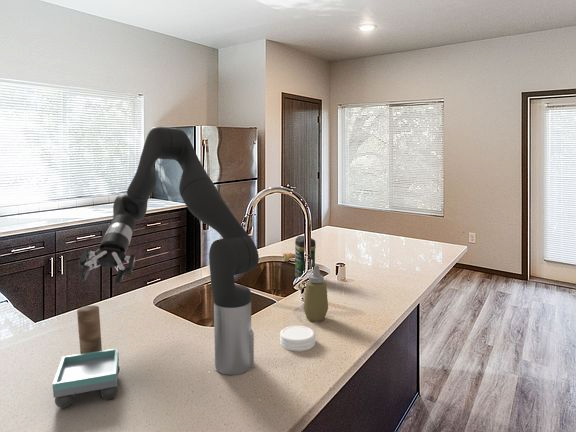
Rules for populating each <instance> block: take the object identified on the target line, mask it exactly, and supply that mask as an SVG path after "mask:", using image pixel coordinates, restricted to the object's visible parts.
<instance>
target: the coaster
mask: <svg viewBox="0 0 576 432" xmlns="http://www.w3.org/2000/svg"><path fill="white" fill-rule="evenodd" d="M279 335H280V337H279V338H280V340H279V343H280V346H281V347H282V348H284V349H285V350H287V351H291V352H305V351H309V350H311V349H313V348H314V347H315V345H316V333H315V330H313V329H312V328H310V327H308V326H305V325H304V326H303V325H290V326H287V327H284V328H283V329H281V330H280V333H279Z"/></svg>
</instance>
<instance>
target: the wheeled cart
mask: <svg viewBox="0 0 576 432" xmlns="http://www.w3.org/2000/svg"><path fill="white" fill-rule="evenodd" d="M119 353H120V352H119V348H112V349H111V348H110V349H105V350H103V349H102V351H97V352H90V353H83V354H80V353H78V354H71V355H65V356H62V357H61V360H60V362H59V365H58V367H57V371H56V372H55V376H54V379H53V381H52V394H53V398H54V404H55V405H56V407H58V408H60V409H65V408H68V407H69V406H71V405H72V403H73V402H74V398H75V397H74V395H77V394H81V393H82V394H83V393H86V392H93V391H99V390H100V395H101V397H102V399H104V400H112V399H114V398H116V396H117V395H118V392H119V386H118V378H119V377H118V376H119V373H120V369H121V368H120V363H119V362H120V356H119V355H120V354H119Z"/></svg>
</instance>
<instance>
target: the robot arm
mask: <svg viewBox="0 0 576 432" xmlns="http://www.w3.org/2000/svg"><path fill="white" fill-rule="evenodd" d="M158 160H174V161H176V162H177V163H178V164H179V166H180V168H181V170H182V173H181V177H180V180H179V188H178V189H179V195H180V197H181V199H182V200H183V203H184V204H185V206H186V207H187V210H188V211H189V212H190V213H191V214H192V216H194V217H195V218H196V219H197V220H199V221H201V222H202V223H204V224H205V225H207V226H208V227H211V228H212V229H213V230H214V231H216V232H217V233H218V234H219V235H220V237H222V238H220V239H216V240H214V241H213V242H212V243H211V244H210V247H209V252H208V260H209V261H208V263H209V272H210V273H209V275H210V288H211V292H212V296H213V328H214V329H213V331H214V332H213V333H214V368H215V370H216V371H217V372H218V373H220V374H223V375H227V376H228V375H230V376H233V375H240V374H243V373H246V372H247V371H249V370H251V369H254V368H255V351H254V350H255V342H254V341H255V339H254V338H255V336H254V331H253V329H252V292H251V290H250V288H249V287H248V286H245V285H242V284H238V283H235V276H237V275H241V274H244V273H248V272H251V271H253V270H255V269H256V268H257V267H258V265H259V260H260V259H259V257H260V256H259V251H258V248H257V246H256V243H255V242H254V240H253V239H252V237H251V235H249V232H247V231H246V230H245V229H244V227H243V225H242V224H241V223H240V222H239V220H237V218H236V217H235V216H234V214H233V212H232V211H231V209H230V208H229V207H228V205H227V204H226V202H225V200H224V199H223V198H222V195H221V193H220V192H219V190H218V188H217V187H216V185H215V184H214V182H213V181H212V179H211V177H210V176H209V174H208V173H207V171H206V170H205V168H204V166H203V164H202V163H201V161H200V159H199V157H198V155H197V153H196V151H195V148H194V146H193V144H192V142H191V140H190V138H189V136H188V134H187V133H186V132H185V131H184V130H182V129H180V128H175V127H169V126H168V127H167V126H154V127H152V128H150V130H149V132H148V133H147V136H146V138H145V142H144V143H143V148H142V151H141V155H140V158H139V162H138V165H137V169H136V172H135V174H134V176H133V178H132V180H131V181H130V184H129V186H128V187H127V190H126V193H121V194H118V195H117V196H116V197H115V199H114V202H113V206H112V211H113V212H112V214H113V215H112V221H111V222H110V224H109V226H108V228H107V230H106V232H105V234H104V235H103V237H102V240H101V242H100V244H99V247H98V249H96V251H94V250H93V251H92V250H91V249H90V248H89V247H87V248H85V249H84V251H83V252H82V254H81V256H80V258H79V260H78V268H79V269H80V270H81V272H80V279H81V281H82V282H86V280H87V278H88V277H89V273H90V271H91V270H93V269H97V268H99V267H103V268H105V267H106V268H111V269H113V268H114V269H116V271H117V273H116V277H115V279H114V285H115V286H118V285H119V284H121V283H122V282H123V278H124V276H125V275H133V270H134V267H135V263H136V255H135V254H134V253H131V254H130V255H126V254H127V251H128V248H129V246H130V244H131V240H132V236H133V233H134V231H135V228H136V223H137V221H141V220H143V219H144V218H145V216H146V214H147V209H148V202H149V198H150V197H151V195H152V194H153V192H154V190H155V188H156V185H157V174H156V172H155V169H154V164H155V163H156V161H158ZM125 261H126V263H127V267H125V266H124V265H123V263H124V262H125Z"/></svg>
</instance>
